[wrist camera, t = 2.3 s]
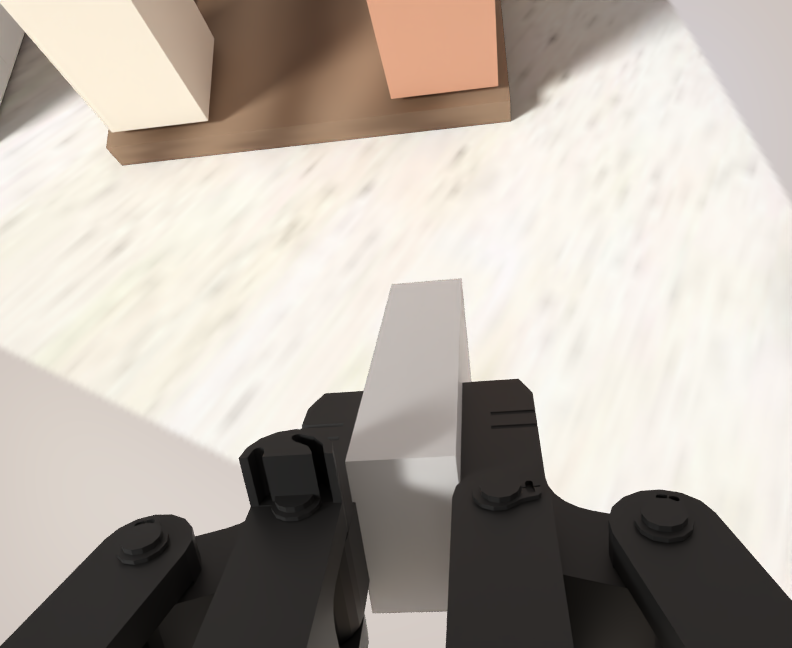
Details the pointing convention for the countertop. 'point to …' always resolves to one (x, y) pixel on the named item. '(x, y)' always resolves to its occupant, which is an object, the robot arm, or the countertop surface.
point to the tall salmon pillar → (436, 45)
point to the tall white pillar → (126, 56)
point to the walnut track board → (304, 85)
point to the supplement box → (8, 47)
